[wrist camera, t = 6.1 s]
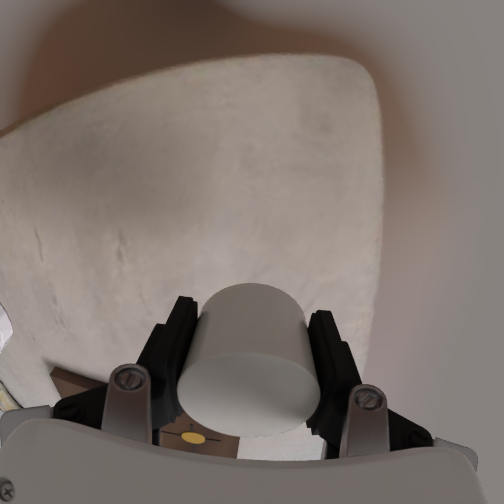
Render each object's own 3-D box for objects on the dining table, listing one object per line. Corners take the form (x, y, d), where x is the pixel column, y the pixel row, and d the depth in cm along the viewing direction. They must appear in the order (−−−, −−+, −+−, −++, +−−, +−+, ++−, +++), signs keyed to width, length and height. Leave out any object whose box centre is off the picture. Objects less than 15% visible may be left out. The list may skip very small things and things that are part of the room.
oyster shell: (29, 387, 34) (-15, 369, 26) (35, 398, 32) (-12, 381, 24) (22, 410, 32) (-21, 394, 24) (28, 422, 30) (-18, 407, 22)
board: (243, 408, 25) (242, 420, 23) (232, 479, 33) (232, 487, 31) (55, 366, 24) (48, 375, 23) (103, 452, 32) (100, 459, 31)
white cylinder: (316, 288, 11) (338, 357, 7) (295, 370, 12) (302, 439, 9) (198, 276, 11) (169, 342, 7) (198, 361, 12) (181, 429, 9)
